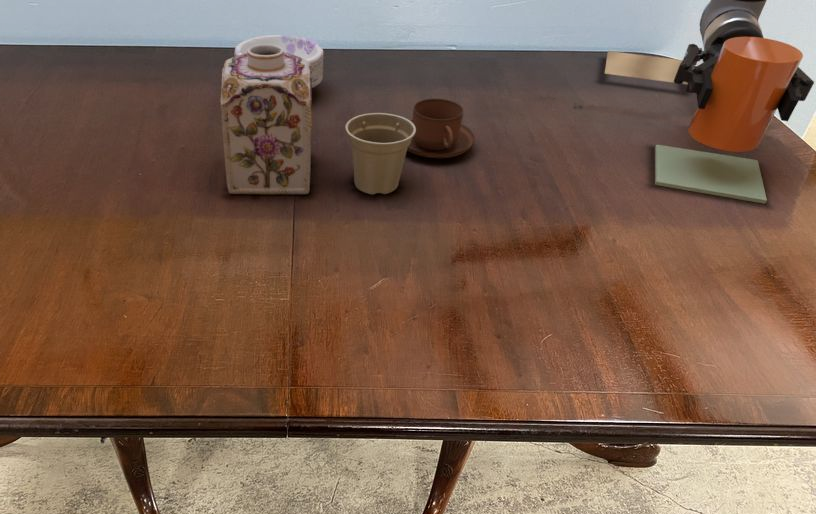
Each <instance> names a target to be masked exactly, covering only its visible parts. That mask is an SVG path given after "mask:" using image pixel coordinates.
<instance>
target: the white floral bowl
mask: <svg viewBox="0 0 816 514" xmlns="http://www.w3.org/2000/svg"><path fill="white" fill-rule="evenodd" d="M260 44H270V45H276V46H279V47H281V48H282V49H283V51H284V52H286V53H290V54H292V55H296V56H298V57H301V58H303V59H305V60H307V61H309V62H310V65H311V71H312V74H311V77H312V89H313V88H316V87H317V86H318V85H320V84H321V83H322V81H323V79H324V53H325V52H324V49H323V47H322V46H321V45H320V44H319V43H318V42H316V41H314V40H311V39H309V38H306V37H302V36H297V35H291V34H290V35H288V34H287V35H286V34H270V35H269V34H268V35H261V36H255V37H250V38H247V39H245V40H242V41H241V42H239V43H238V44H237V45H236V47H235V48H234V52H233V53H234V54H233V55H234V57H235V56H237V55H242V54H246V53H247V50H248V49H249V48H250V47H253V46H255V45H260Z"/></svg>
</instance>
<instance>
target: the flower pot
mask: <svg viewBox="0 0 816 514" xmlns="http://www.w3.org/2000/svg"><path fill="white" fill-rule="evenodd" d="M344 127H345V128H344V129H345V133H346V134H347V135H348V142H349V143H350V149H351V159H352V168H353V182H354V185H355V187H356V188H357V190H359V191H361V192H362V193H365V194H368V195H375V194H382V195H388V194H390V193H392V192H394V191H395V190H396V189H397V188H398V186H399V183H400V180H401V174H402V170H403V168H404V167H403V166H404V162H405V160H406V159H405V158H406V155H407V152H408V151H407V148H408V146H409V145H410V143H411V139H412V138H413V137H414V135H415V133H416V127H415V125H414V124H413V123H412V122H411V120H410V119H408V118H406V117H405V116H404V117H403V116H402V115H397V114H395V113H394V114H393V113H387V112H371V113H369V112H368V113H363V114H359V115H356V116H354V117H352V118H350V119H349V120H348V121H347V122H346V124H345V126H344Z"/></svg>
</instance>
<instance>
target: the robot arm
mask: <svg viewBox="0 0 816 514" xmlns="http://www.w3.org/2000/svg"><path fill="white" fill-rule="evenodd" d="M767 1H768V0H710V1H709V2H708V3H707V4H706V6H705V7H704V9H703V11H702V13H701V16H700V18H699V32H700V36H701V41H702V45H703V46H702V47H703V48H702V47H699V46H698V45H697V44H695V43H690V44H688V45H687V48H686V51H685V53H684V56H683V58H682V60H683V61H682V62H681V63H680V66H679V68H678V71H677V73H676V76H675V79H674V84H677V85H683V84H682V83H683V82H687V83H688V85H687V84H686V88H685V90H684V91H685V92H686V93H688V94H689V93H690V94H696V101H697V107H698V108H699V109H705V107H706V104H707V102H708V100H709V97H710V95H711V92H712V90H713V86H712V80H711V73H712V71H713V68H714V66H715V64H716V61H717V59H718V56H719V54H720V51H721V49H722V47H723V44H724V42H725V41H726V40H728V39H730V38H735V37H759V38H765V37H764V35H763V31H762V28H761V25H760V23H759V19H760V18H761V17H760V16H761V14H762V12H763V9H764V7H765V5H766V3H767ZM701 61H702V63H700V64H698V62H701ZM697 64H698V65H697ZM814 84H815V81H814V80H813V79H812V78H811V77H809V76H808V74H807V73H806V72H804V70H802V68H800V67H799V66H798V68H797V70H796V72H795V74H794V76H793V78H792V80H791V82H790V84H789V86H788V88H787V90H786V92H785V94H784V96H783V98H782V100H781V102H780V104H779V106H778V108H777V111H778V116H779V118H780V120H781V121H782V122H783V121H784V122H789V120H790V119H791V116H792V114H793V113H794V111H795V109H796V107H797V105H798V103H799V102H805V101H806V99H807V98H808V96H809V94H810V92H811V90H812V88H813V86H814Z"/></svg>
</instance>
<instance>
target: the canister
mask: <svg viewBox="0 0 816 514" xmlns="http://www.w3.org/2000/svg"><path fill="white" fill-rule="evenodd" d="M803 58H804V54H803V52H802V51H801V50H800V49H799V48H798V47H795V46H793V45H791V44H789V43H786V42H783V41H779V40H776V39H770V38H765V37H764V38H759V37H735V38H730V39H728V40H726V41H725V42H724V44H723V47H722V49H721V51H720V54H719V56H718V59H717V61H716V64H715V66H714V68H713V71H712V73H711V80H712V86H713V90H712V92H711V95H710V97H709V100H708V102H707V104H706V107H705V109H699V108H698V106H696V109H695V112H694V115H693V117H692V119H691V122H690V124H689V126H688V128H687V129H688V130H687V131H688V134H689V136H690V137H691V138H692V139H694V140H695V141H696V142H698V143H700V144H702V145H704V146H707V147H710V148H713V149H715V150H720V151H726V152H734V153H735V152H736V153H737V152H740V153H741V152H749V151H753V150H755V149H757V148H758V147H759V146H760V144H761V142H762V140H763V138H764V136H765V134H766V132H767V130H768V128H769V126H770V124H771V123H772V119H773V118H774V116H775V114H776V112H777V111H778V109H777V108H778V106H779V104H780V102H781V100H782V98H783V96H784V94H785V92H786V90H787V88H788V86H789V84H790V82H791V80H792V78H793V76H794V74H795V72H796V70H797V68H798V67H799V66H800V64H801V62H802V60H803Z"/></svg>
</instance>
